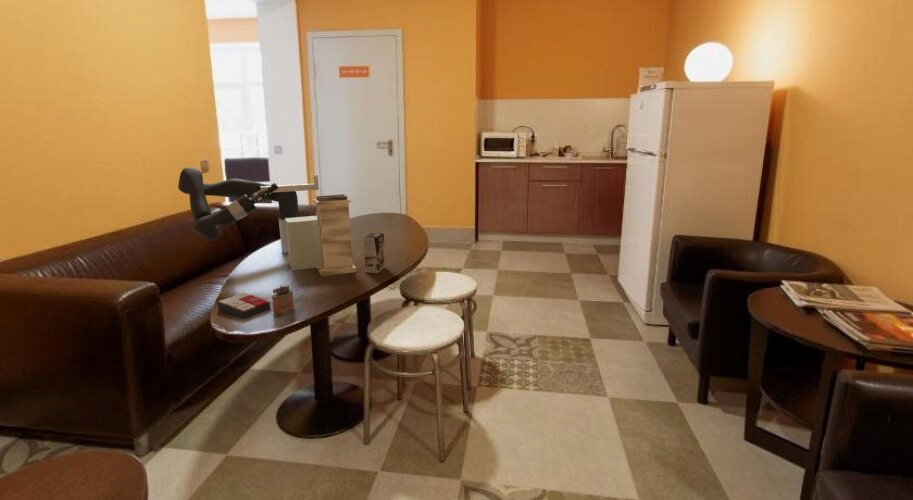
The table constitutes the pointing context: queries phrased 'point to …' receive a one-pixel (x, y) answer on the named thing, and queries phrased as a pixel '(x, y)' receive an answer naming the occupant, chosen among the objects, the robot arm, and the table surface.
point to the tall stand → (334, 235)
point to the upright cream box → (303, 242)
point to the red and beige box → (243, 306)
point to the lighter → (282, 301)
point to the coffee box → (374, 252)
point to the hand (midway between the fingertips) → (276, 185)
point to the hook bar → (296, 186)
